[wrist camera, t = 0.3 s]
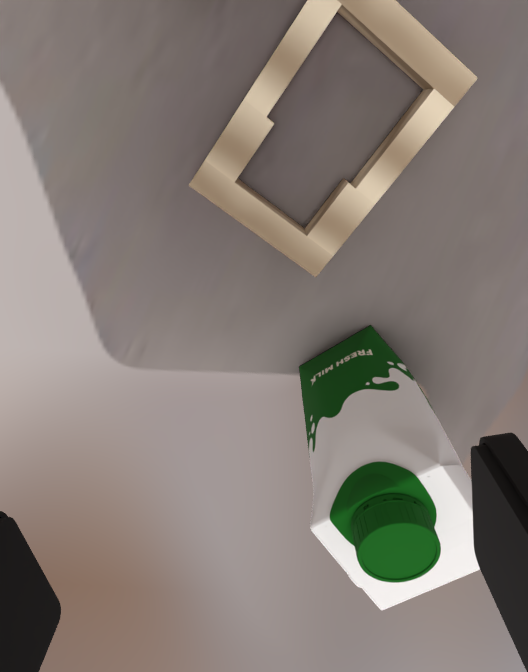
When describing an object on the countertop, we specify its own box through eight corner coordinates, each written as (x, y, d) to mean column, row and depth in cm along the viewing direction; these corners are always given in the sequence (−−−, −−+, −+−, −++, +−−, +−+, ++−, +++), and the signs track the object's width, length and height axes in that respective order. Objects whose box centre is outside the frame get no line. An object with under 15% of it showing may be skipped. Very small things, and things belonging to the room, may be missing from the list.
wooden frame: (335, -41, 30) (340, -52, 28) (463, 79, 33) (477, 78, 31) (193, 180, 36) (188, 185, 33) (313, 267, 38) (315, 277, 36)
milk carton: (374, 310, 40) (463, 481, 22) (425, 390, 43) (539, 598, 25) (283, 363, 42) (294, 561, 24) (338, 436, 45) (384, 659, 27)
